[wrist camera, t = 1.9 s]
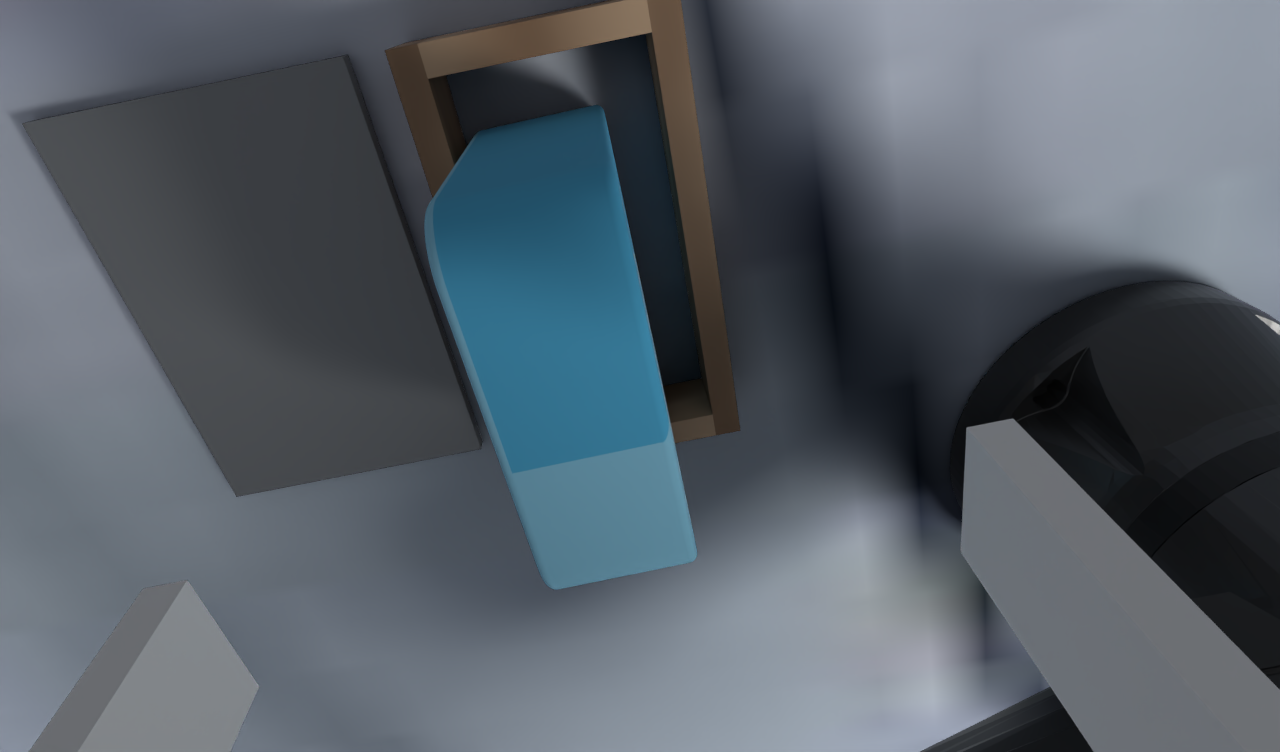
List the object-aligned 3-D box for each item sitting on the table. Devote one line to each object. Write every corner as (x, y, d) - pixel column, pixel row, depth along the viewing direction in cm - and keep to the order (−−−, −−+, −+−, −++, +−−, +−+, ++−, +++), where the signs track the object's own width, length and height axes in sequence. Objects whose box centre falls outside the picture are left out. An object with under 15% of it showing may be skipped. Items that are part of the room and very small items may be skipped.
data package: (662, 383, 32) (704, 585, 21) (561, 405, 32) (552, 616, 21) (601, 96, 26) (616, 176, 15) (477, 124, 26) (408, 222, 15)
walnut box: (668, -13, 24) (679, -12, 22) (727, 393, 32) (740, 430, 29) (405, 42, 25) (384, 50, 22) (526, 432, 32) (522, 473, 30)
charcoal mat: (347, 54, 25) (342, 56, 24) (482, 441, 32) (481, 448, 32) (33, 120, 25) (21, 123, 24) (242, 488, 33) (236, 496, 32)
